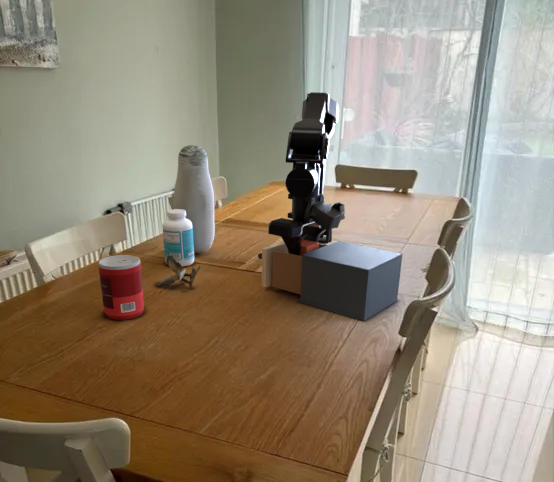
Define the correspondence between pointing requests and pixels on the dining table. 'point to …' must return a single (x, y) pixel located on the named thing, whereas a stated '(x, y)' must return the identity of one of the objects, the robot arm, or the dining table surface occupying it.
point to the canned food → (121, 286)
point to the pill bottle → (178, 237)
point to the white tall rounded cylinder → (196, 195)
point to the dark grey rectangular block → (350, 279)
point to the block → (308, 246)
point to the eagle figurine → (178, 273)
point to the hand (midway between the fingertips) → (303, 260)
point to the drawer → (281, 268)
